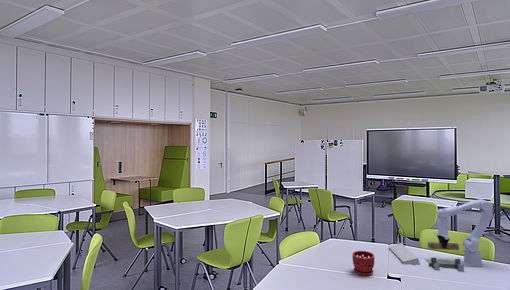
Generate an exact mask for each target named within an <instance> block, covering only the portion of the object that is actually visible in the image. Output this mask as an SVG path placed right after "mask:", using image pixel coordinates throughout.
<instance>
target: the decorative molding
mask: <svg viewBox="0 0 510 290" xmlns="http://www.w3.org/2000/svg"><path fill="white" fill-rule="evenodd" d="M388 248H389V250H390V251H391V252H392V253H393V255H395V256H396V257H397V259H399V260H400V261H401V263H402V264H403V265H418V266H419V265H421V263H420V260H419V258H418V257H417V255H416V254H414V252H412V251H411V250H410V249H408V247H406V246H405V245H404V244H403V243H402V242H399V243H395V244H392V245H388Z"/></svg>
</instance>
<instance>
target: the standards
mask: <svg viewBox="0 0 510 290" xmlns="http://www.w3.org/2000/svg"><path fill="white" fill-rule="evenodd" d="M430 259H431V263H429V262H428V267H429V268H432V269H433V270H434V271H440V267H442V268H443V269H446V268H447V269H455V270H456V271H458V272H460V271H462V272H461V273H463V272H465V264H464V263H462V259H460V258H454V260H455V264H442V263H437V259H438V258H437V257H431V258H430Z"/></svg>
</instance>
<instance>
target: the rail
mask: <svg viewBox="0 0 510 290" xmlns="http://www.w3.org/2000/svg"><path fill="white" fill-rule="evenodd" d="M427 247H428V249H429V250H447V251H448V250H449V251H460V244H459V243H457V242H455V243H453V242H448V243H447V247H446V248H442V243H439V242H436V241H435V242H433V241H431V242H430V241H428V242H427Z"/></svg>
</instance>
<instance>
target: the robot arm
mask: <svg viewBox="0 0 510 290" xmlns="http://www.w3.org/2000/svg"><path fill="white" fill-rule="evenodd" d="M469 209H478V210H479V211H480V213H481V217H480V218H479V220H478V222H477V223H476V225H475V227H474V229H473V231H471V233H470V235H468V236H467V237H466V238H465V239H463V240H462V245H463V247H464V248H463V260H461V263H462V264H464V266H466V265H467V267H480V266H482V267H483V261H482V257H483V256H482V253H481V251H478V250H479V245H480V239H481V237H482V236H483V234H484V233H485V231H486V229H487V227H488V226H489V224H490V222H491V221H492V219H493V216H494V211H493V209H494V206H493V204H492V203H491V202H490V201H487V200H485V199H483V198H479V199H475V200H472V201H469V202H466V203H463V204H461V205H458V206H457V205H456V204H454V205H453V204H452V205H450V206H448V207H443V208H439V209H438V210H437V211H436V216H437V232H436V238H437V239H438V243H442V248H446V247H447V243H449V241H450V238H449V237H450V236H449V228H448V227H449V226H448V225H449V223H448V218H449V217H452V216H456V215H458V214H460V213H461V212H462V211H466V210H469Z"/></svg>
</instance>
